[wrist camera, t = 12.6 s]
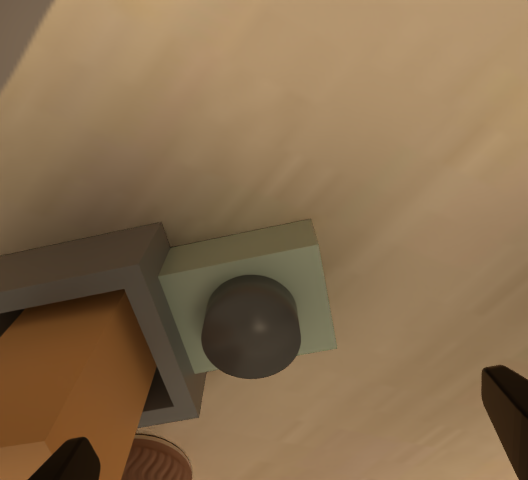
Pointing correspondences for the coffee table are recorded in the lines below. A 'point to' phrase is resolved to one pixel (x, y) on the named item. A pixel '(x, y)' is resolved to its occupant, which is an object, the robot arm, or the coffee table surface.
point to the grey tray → (190, 301)
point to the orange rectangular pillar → (72, 382)
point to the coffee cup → (155, 461)
